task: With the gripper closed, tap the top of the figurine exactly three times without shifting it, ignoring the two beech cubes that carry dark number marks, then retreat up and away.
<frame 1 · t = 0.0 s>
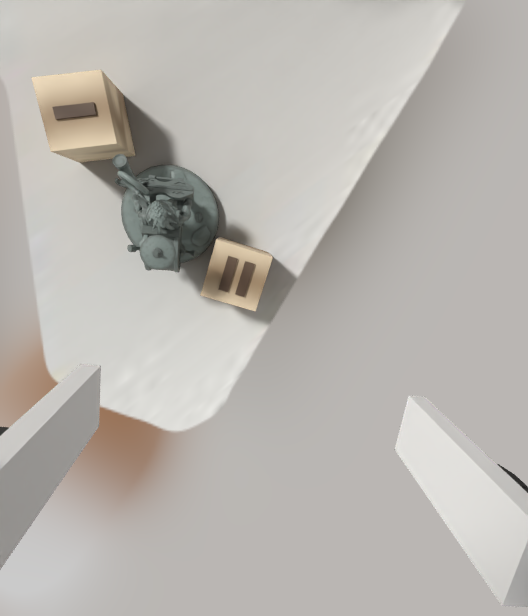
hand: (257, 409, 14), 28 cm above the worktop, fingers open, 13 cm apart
marked cube a: (101, 129, 36), on the worktop
marked cube b: (236, 268, 41), on the worktop
figurine: (172, 216, 39), on the worktop
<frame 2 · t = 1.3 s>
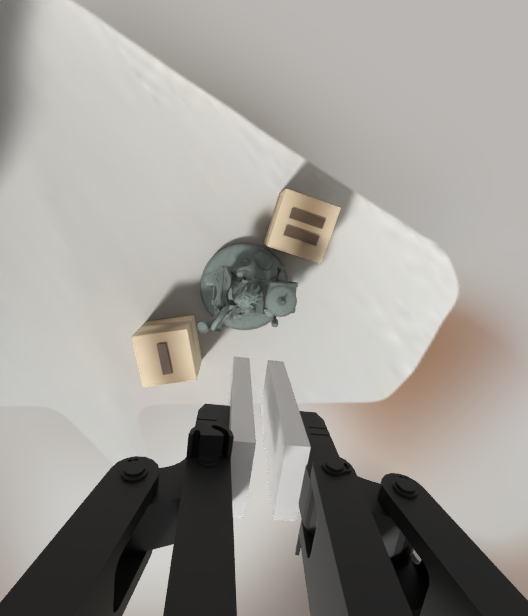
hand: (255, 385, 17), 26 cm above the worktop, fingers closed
marked cube a: (174, 340, 43), on the worktop
marked cube b: (294, 226, 41), on the worktop
figurine: (245, 286, 43), on the worktop
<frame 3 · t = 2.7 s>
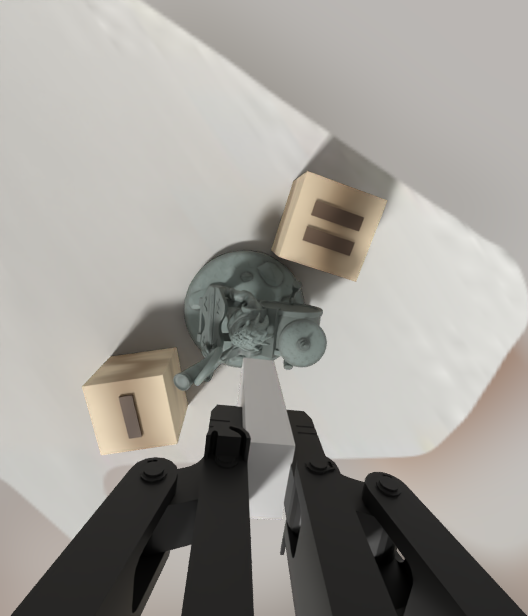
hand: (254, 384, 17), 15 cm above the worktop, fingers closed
marked cube a: (150, 381, 32), on the worktop
marked cube b: (314, 227, 30), on the worktop
figurine: (245, 308, 31), on the worktop
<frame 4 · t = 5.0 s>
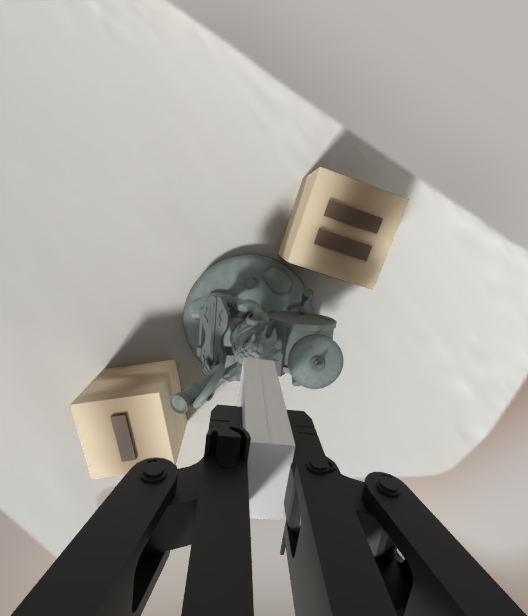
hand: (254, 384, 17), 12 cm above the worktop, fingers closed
marked cube a: (147, 395, 30), on the worktop
marked cube b: (325, 229, 27), on the worktop
figurine: (250, 317, 29), on the worktop
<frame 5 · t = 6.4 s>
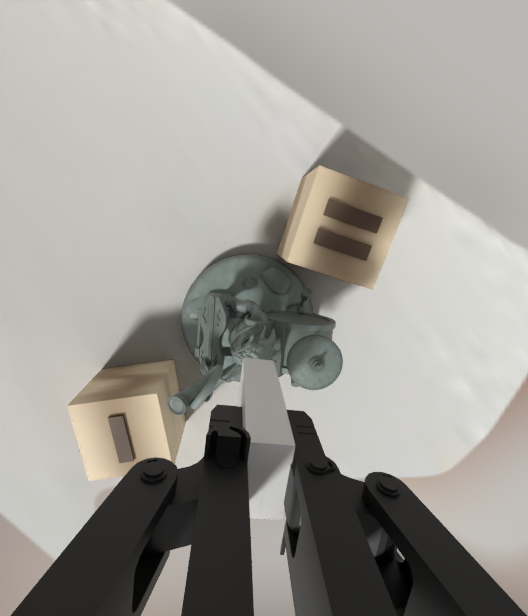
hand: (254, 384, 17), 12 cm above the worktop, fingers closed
marked cube a: (145, 396, 30), on the worktop
marked cube b: (324, 228, 27), on the worktop
figurine: (248, 317, 29), on the worktop
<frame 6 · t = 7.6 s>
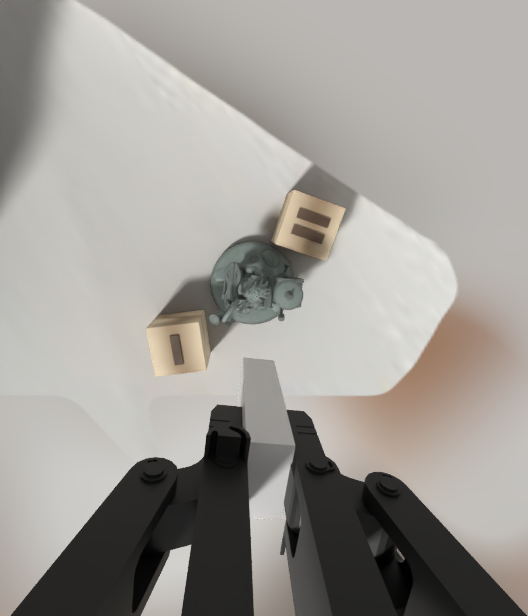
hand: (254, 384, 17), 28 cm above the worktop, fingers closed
marked cube a: (185, 333, 45), on the worktop
marked cube b: (301, 226, 43), on the worktop
figurine: (252, 282, 45), on the worktop
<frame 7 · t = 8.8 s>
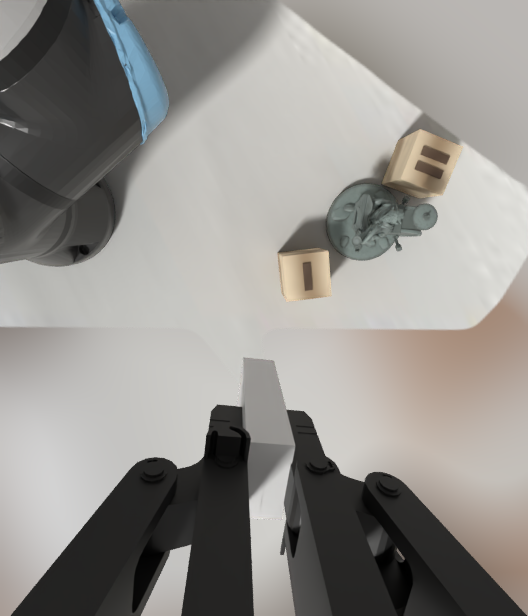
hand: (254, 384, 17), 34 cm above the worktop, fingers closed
marked cube a: (299, 270, 50), on the worktop
marked cube b: (408, 170, 48), on the worktop
figurine: (362, 223, 50), on the worktop
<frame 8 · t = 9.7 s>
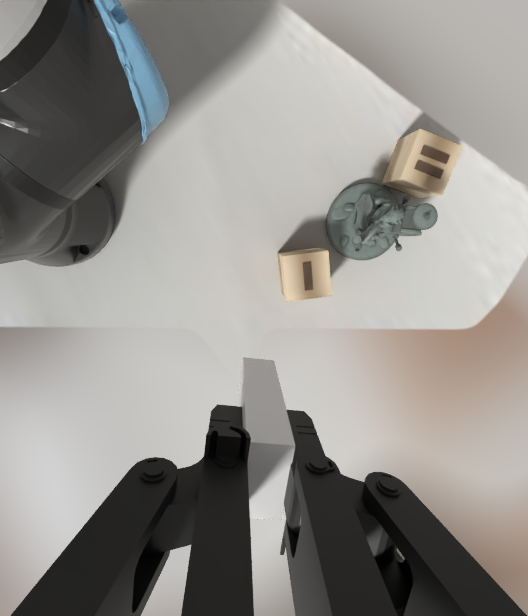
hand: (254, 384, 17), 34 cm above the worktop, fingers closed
marked cube a: (299, 270, 50), on the worktop
marked cube b: (408, 169, 48), on the worktop
figurine: (362, 222, 50), on the worktop
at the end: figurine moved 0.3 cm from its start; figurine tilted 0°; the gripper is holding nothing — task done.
